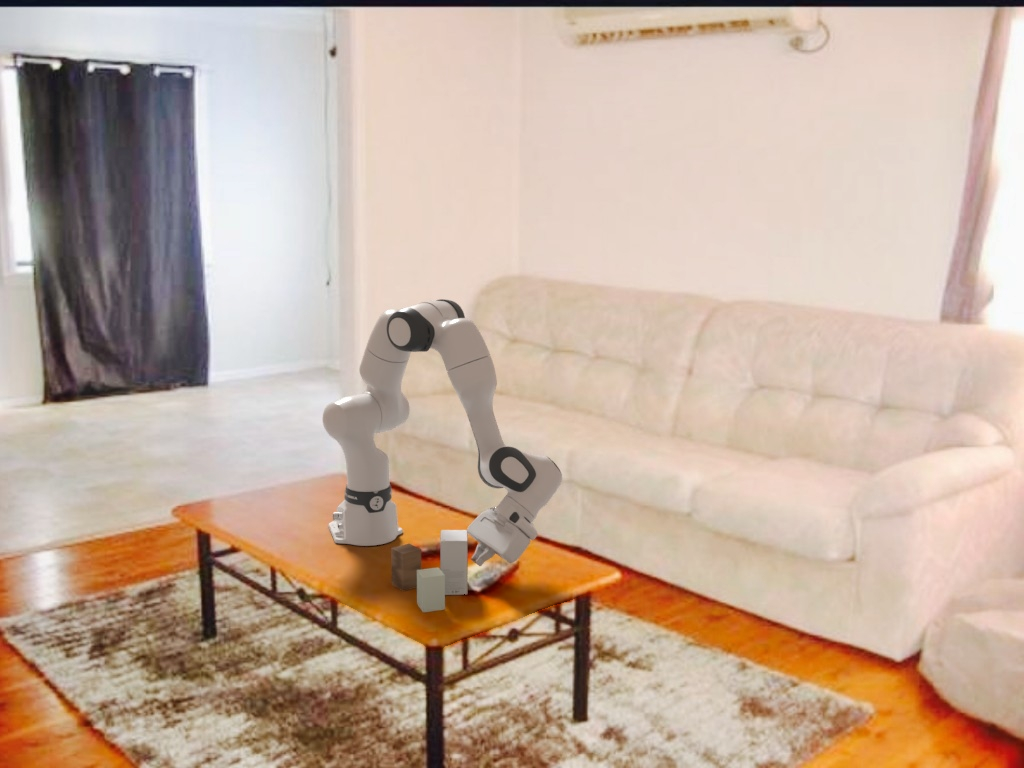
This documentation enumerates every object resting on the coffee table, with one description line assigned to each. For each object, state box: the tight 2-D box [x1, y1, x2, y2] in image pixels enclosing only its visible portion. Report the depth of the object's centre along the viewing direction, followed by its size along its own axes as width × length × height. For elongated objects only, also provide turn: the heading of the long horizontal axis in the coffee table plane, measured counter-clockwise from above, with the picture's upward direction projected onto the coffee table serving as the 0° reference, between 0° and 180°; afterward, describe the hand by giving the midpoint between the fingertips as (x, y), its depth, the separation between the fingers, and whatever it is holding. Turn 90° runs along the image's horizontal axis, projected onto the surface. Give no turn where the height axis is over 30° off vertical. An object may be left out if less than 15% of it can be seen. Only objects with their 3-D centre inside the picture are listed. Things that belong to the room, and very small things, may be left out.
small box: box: [439, 529, 469, 596], centre depth 239 cm, size 8×6×13 cm
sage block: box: [416, 566, 446, 613], centre depth 229 cm, size 5×5×8 cm
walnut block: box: [390, 543, 422, 592], centre depth 241 cm, size 5×5×9 cm
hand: (475, 562), depth 242 cm, fingers closed
